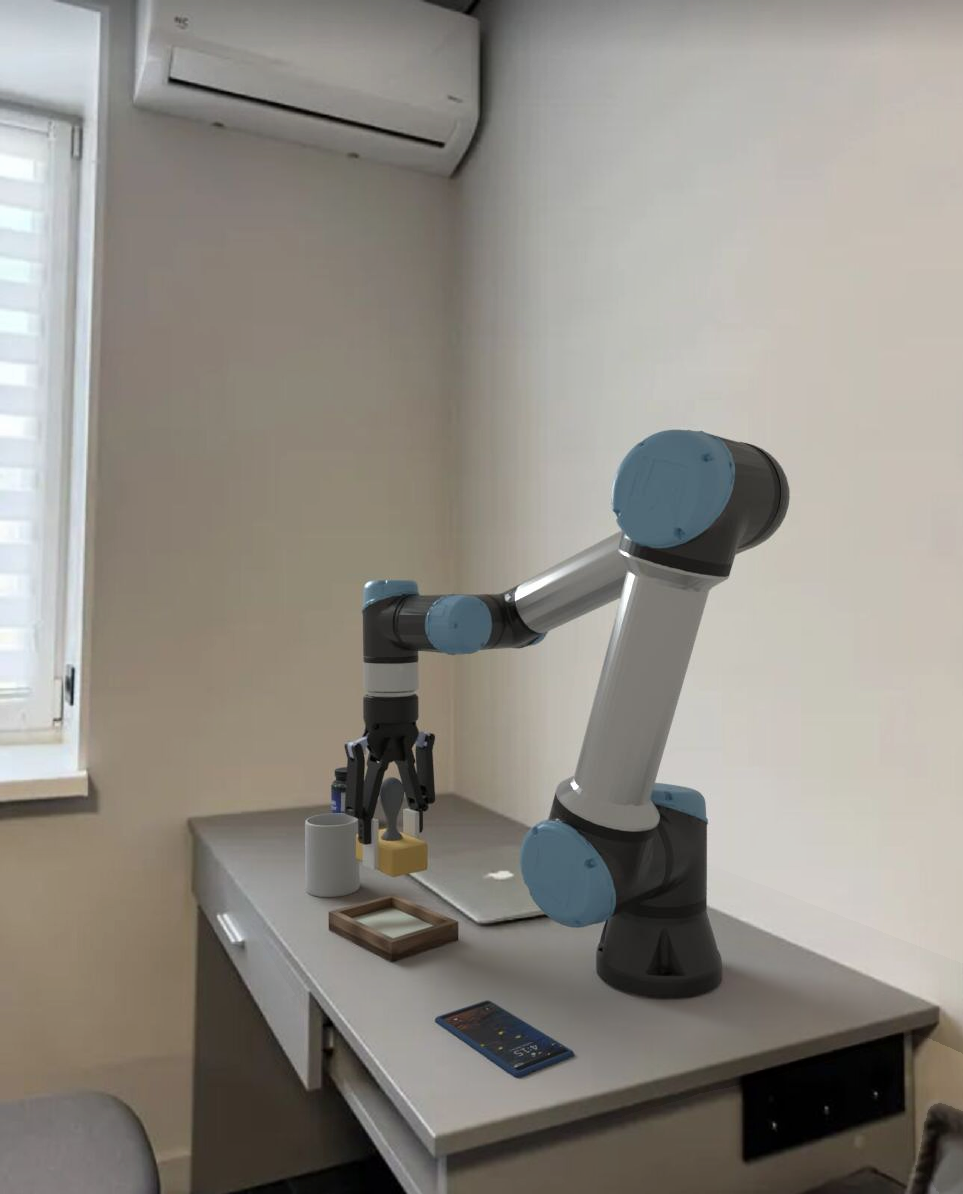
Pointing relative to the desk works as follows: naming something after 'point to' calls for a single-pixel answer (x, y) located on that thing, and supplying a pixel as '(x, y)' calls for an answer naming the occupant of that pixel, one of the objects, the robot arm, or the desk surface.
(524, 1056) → the smartphone
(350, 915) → the tray
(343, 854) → the mug
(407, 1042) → the desk surface
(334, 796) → the pill bottle
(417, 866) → the rubber stamp
